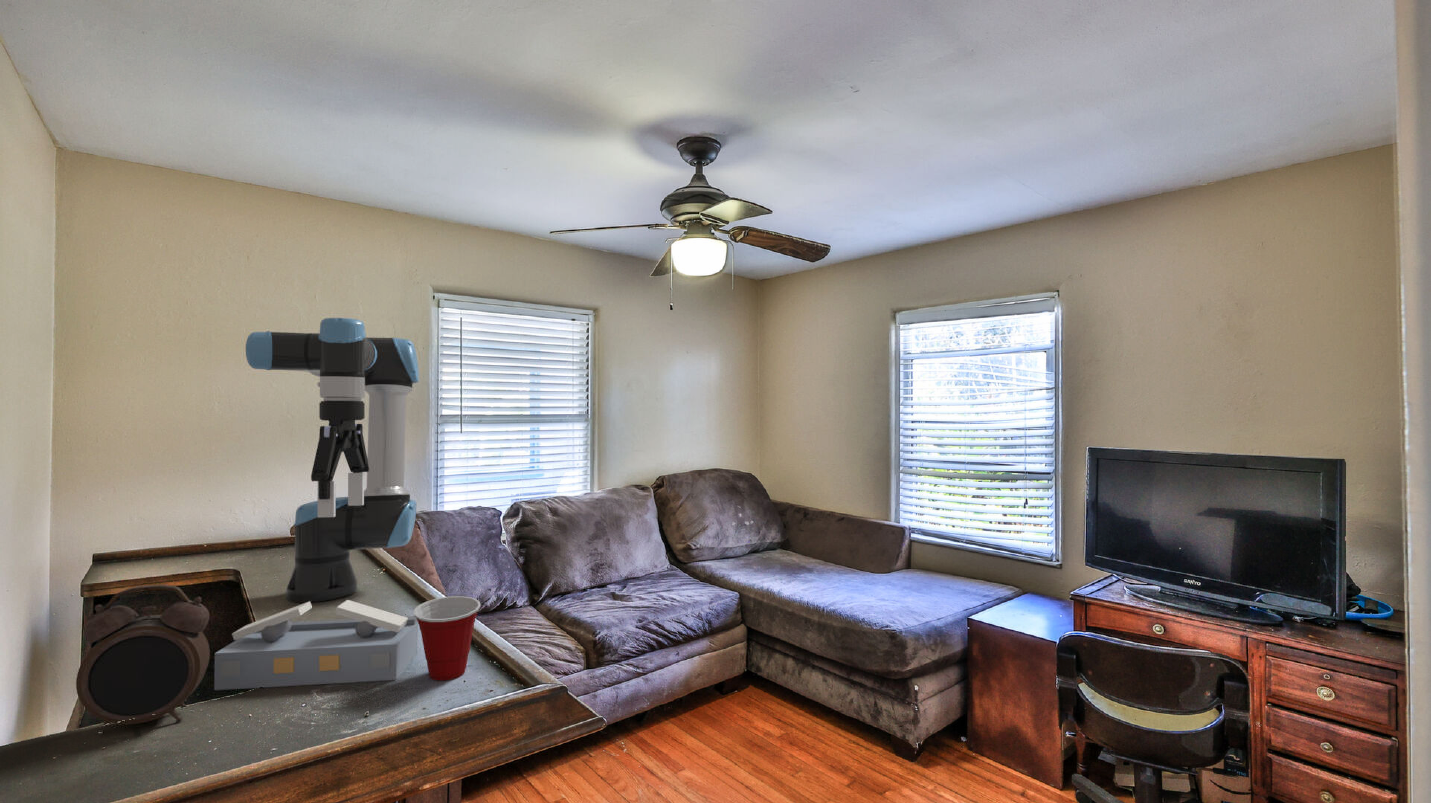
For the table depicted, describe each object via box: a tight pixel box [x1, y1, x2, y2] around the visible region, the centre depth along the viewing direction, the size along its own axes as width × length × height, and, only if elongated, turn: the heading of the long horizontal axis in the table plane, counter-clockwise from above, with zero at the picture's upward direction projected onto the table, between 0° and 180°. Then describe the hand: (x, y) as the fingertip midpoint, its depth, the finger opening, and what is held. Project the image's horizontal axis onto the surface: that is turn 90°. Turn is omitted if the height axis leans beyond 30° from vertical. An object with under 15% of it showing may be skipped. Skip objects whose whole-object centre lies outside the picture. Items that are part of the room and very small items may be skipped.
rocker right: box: [334, 599, 408, 637], centre depth 117 cm, size 4×11×4 cm, turn 99°
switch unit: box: [213, 615, 419, 691], centre depth 115 cm, size 12×28×7 cm, turn 99°
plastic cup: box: [413, 595, 481, 681], centre depth 114 cm, size 11×11×12 cm
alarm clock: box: [75, 584, 211, 733], centre depth 96 cm, size 15×7×20 cm, turn 117°
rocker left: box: [231, 601, 313, 642], centre depth 114 cm, size 4×11×4 cm, turn 98°
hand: (342, 511), depth 125 cm, fingers open, 13 cm apart
